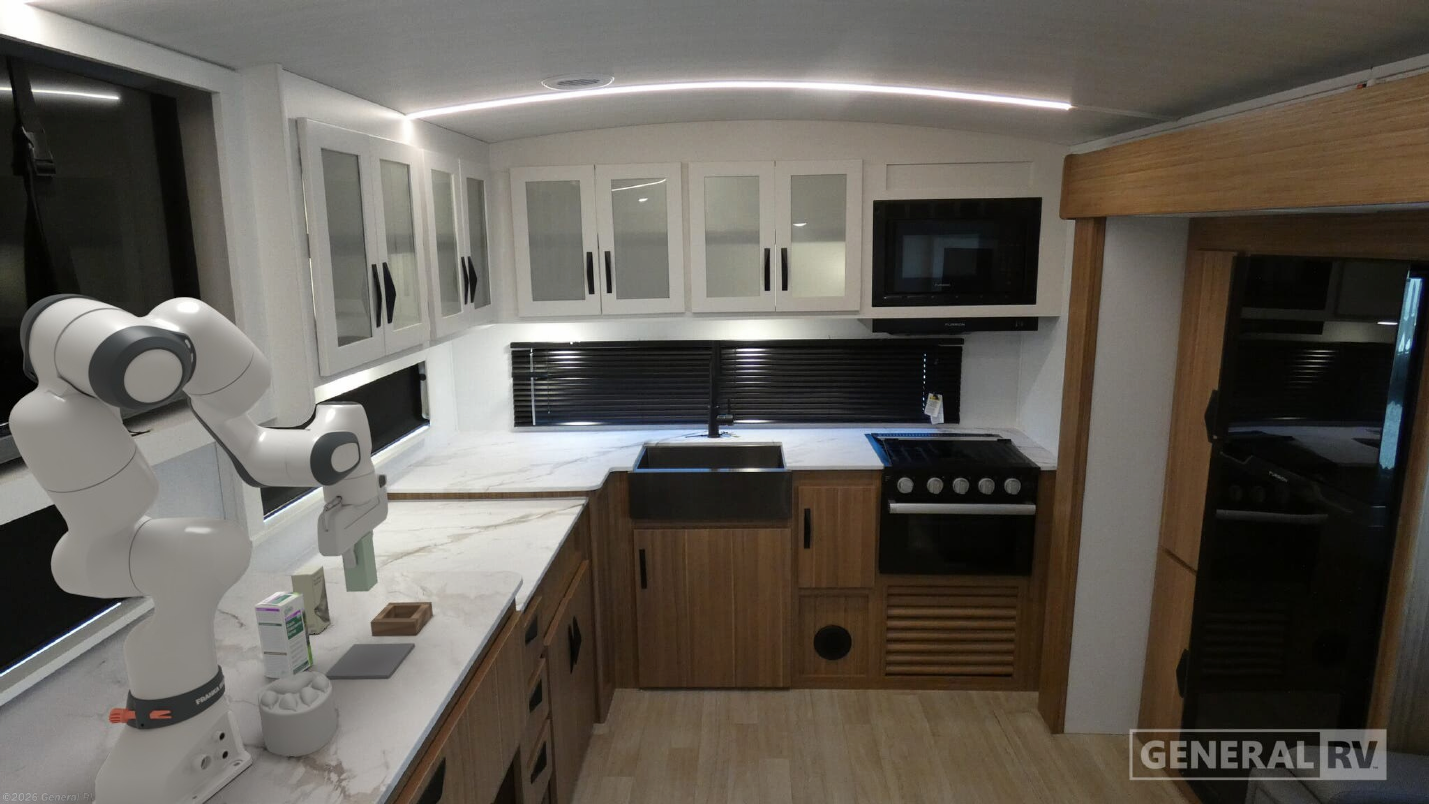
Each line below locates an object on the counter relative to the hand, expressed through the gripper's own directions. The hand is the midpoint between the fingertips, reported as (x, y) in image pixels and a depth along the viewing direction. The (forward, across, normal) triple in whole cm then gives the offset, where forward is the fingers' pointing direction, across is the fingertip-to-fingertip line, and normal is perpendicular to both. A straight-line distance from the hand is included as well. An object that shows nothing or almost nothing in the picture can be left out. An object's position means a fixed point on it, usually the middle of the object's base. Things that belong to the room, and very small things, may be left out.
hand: (359, 560), depth 152 cm
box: (+20, +14, +18) cm, 30 cm away
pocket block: (+20, +15, 0) cm, 25 cm away
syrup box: (+20, -3, +14) cm, 25 cm away
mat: (+20, 0, 0) cm, 20 cm away
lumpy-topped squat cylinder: (+20, -23, +1) cm, 31 cm away
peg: (+5, 0, 0) cm, 5 cm away
